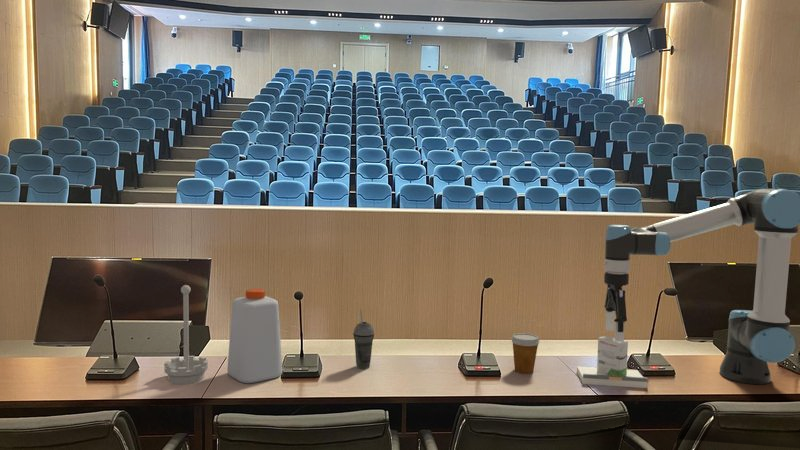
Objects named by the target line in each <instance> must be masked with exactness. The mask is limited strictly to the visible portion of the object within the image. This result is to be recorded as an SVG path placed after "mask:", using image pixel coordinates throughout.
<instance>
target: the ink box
mask: <svg viewBox="0 0 800 450" xmlns="http://www.w3.org/2000/svg"><path fill="white" fill-rule="evenodd" d="M628 344H629V342H628V340H624V342H615V337H613V336H607V335H604V336H600V337H598V338H597V357H596V358H597V359H596V362H597V363H596V368H597V371H598V372H601V373H604V374H607V375H613V376H626V375H627V369H628V348H629V347H628V346H629V345H628Z"/></svg>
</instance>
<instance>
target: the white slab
mask: <svg viewBox="0 0 800 450" xmlns="http://www.w3.org/2000/svg"><path fill="white" fill-rule="evenodd" d="M576 373H577V376H578V377H579V379H580V381H581V383H582V384H583V385H594V386H607V387H611V386H612V387H623V388H627V387H628V388H637V389H638V388H639V389H648V380H649V378H648V377H645V376H643V375H642V373H640V371H639V370H638V369H628V368H627V375H626V376H613V375H607V374H604V373H601V372H598V371H597V366H596V367H595V366H594V367H592V366H579V365H578V366H576Z"/></svg>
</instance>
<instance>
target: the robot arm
mask: <svg viewBox="0 0 800 450" xmlns="http://www.w3.org/2000/svg"><path fill="white" fill-rule="evenodd" d="M749 224H750V225H751V224H753V225H754V226H753V227H754V228H753V231H754V232H755V233H756V235H757V236H758V247H757V256H756V269H755V271H756V273H755V283H754V284H755V285H754V295H753V296H754V297H753V309H752V310H748V309H747V310H746V309H734V310H731V311H730V313H729V318H728V330H727V343H726V344H727V346H726V347H727V348H726V352H725V355H724V357H723V360H722V361H721V364H720V366H719V375H721V376H722V377H724V378H726V379H728V380H731V381H735V382H738V383H744V384H750V385H767V384H769V383H770V382H771V377H772V376H771V375H772V374H771V371H770V368H769V363H771V364H772V363H773V364H775V363H780V362H783V361H785V360H787V359H788V358H789V357H790V356H791V355H792V354H793V352H794V351H795V347H796V342H795V338H794V336H793V334H791V333H790V326H791V319H789V317H788V316H787V315H786V304H787V303H786V302H787V292H788V291H787V290H788V279H789V268H790V267H789V266H790V256H791V244H792V238H794V237H795V236H796V235H798V232H799V225H800V194H798V192H795V191H794V190H790V189H787V188H768V187H767V188H766V187H764V188H759V189H755V190H751V191H749V192H747V193H743V194H741V195H738V196H735V197H731V198H729V199H728V200H727V201H726V202H725V203H722V204H718V205H715V206H712V207H709V208H705V209H701V210H698V211H694V212H691V213H687V214H684V215H681V216H677V217H673V218H670V219H666V220H664V221H659V222H656V223H653V224H651V225H646V226H643V227H639V226H637V227H634V228H631V226H630V225H625V224H610V225H608V226H606V234H605V238H604V240H605V247H604V248H605V253H604V254H605V255H604V259H605V260H604V261H603V263H602V264H603V265H604V270H605V272H604V274H603V275H604V276H603V277H604V278H603V279H604V280H603V283H605V285H607V290H606V295H605V299H604V300H605V301H604V308H605V327H604V328H605V329H604V330H605V332H607V331H608V332H614V338H615V342H624V341H625V327H626V326H625V323H626V322H627V321H628V316H627V307H626V306H627V305H626V304H627V303H626V291H625V290H623V286H628V285H629V278H630V277H629V276H630V274H629V272H630V256H631V255H634V256H635V255H636V256H637V255H640V256H656V257H658V256H667V255H668V254H669V253H670V251H671V243H672V242H677V241H679V240H683V239H686V238H687V239H688V238H690V237H693V236H696V235H701V234H704V233H708V232H711V231H712V232H713V231H716V230H718V229H719V230H720V229H723V228H726V227H730V226H734V225H736V226H737V227H741V226H744V225H749Z"/></svg>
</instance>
